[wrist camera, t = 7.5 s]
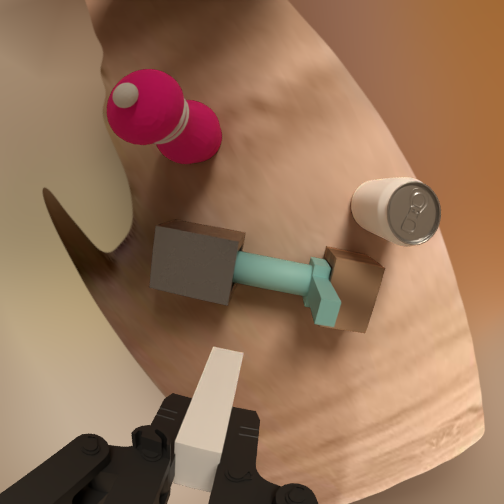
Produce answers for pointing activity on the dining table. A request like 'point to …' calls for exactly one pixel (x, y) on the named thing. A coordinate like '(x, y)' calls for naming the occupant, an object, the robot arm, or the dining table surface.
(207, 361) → the robot arm
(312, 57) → the dining table surface
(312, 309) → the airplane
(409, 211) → the can
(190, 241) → the gray block
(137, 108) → the pepper mill
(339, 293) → the socket
